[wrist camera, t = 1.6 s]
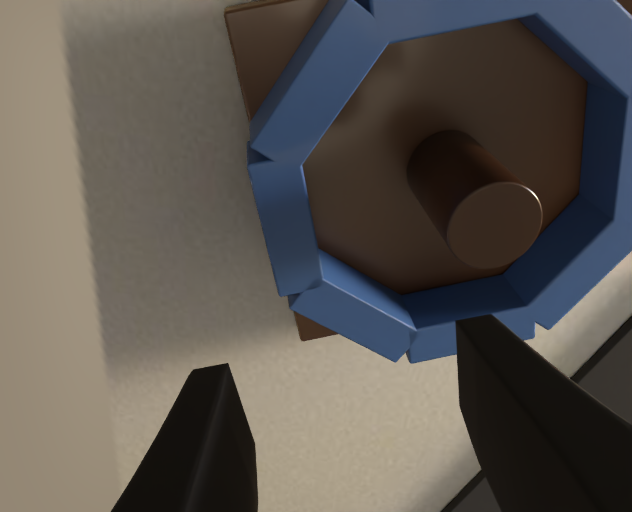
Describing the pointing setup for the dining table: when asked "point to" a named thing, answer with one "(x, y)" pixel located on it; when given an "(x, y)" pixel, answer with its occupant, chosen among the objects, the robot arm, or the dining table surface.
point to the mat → (594, 377)
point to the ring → (473, 296)
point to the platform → (407, 109)
